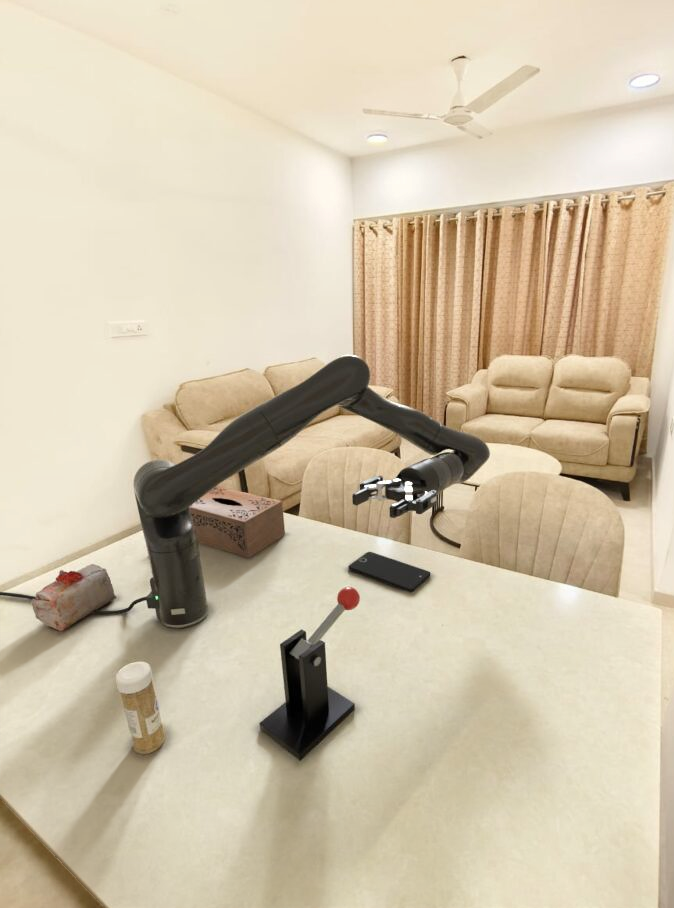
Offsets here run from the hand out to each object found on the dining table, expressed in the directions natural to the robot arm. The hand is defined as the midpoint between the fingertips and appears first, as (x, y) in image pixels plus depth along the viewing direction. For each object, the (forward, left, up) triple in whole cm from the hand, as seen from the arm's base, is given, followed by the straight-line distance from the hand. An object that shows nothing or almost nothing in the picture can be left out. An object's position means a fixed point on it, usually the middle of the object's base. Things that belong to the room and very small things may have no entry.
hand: (372, 506), depth 87 cm
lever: (-1, -17, -14) cm, 22 cm away
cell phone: (-4, +23, -28) cm, 36 cm away
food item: (-62, -11, -28) cm, 68 cm away
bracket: (-4, -22, -28) cm, 36 cm away
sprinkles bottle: (-25, -33, -28) cm, 50 cm away
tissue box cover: (-51, +29, -28) cm, 64 cm away
